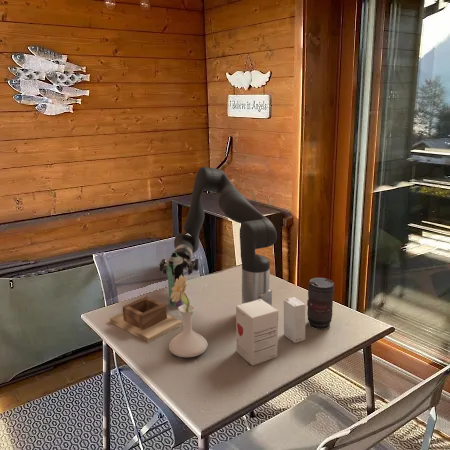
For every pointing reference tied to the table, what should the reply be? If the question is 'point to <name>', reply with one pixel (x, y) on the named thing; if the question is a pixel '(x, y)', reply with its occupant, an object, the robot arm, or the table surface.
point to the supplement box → (256, 331)
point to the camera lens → (320, 302)
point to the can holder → (146, 319)
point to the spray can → (174, 276)
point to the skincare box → (294, 319)
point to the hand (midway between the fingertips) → (177, 272)
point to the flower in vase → (185, 325)
